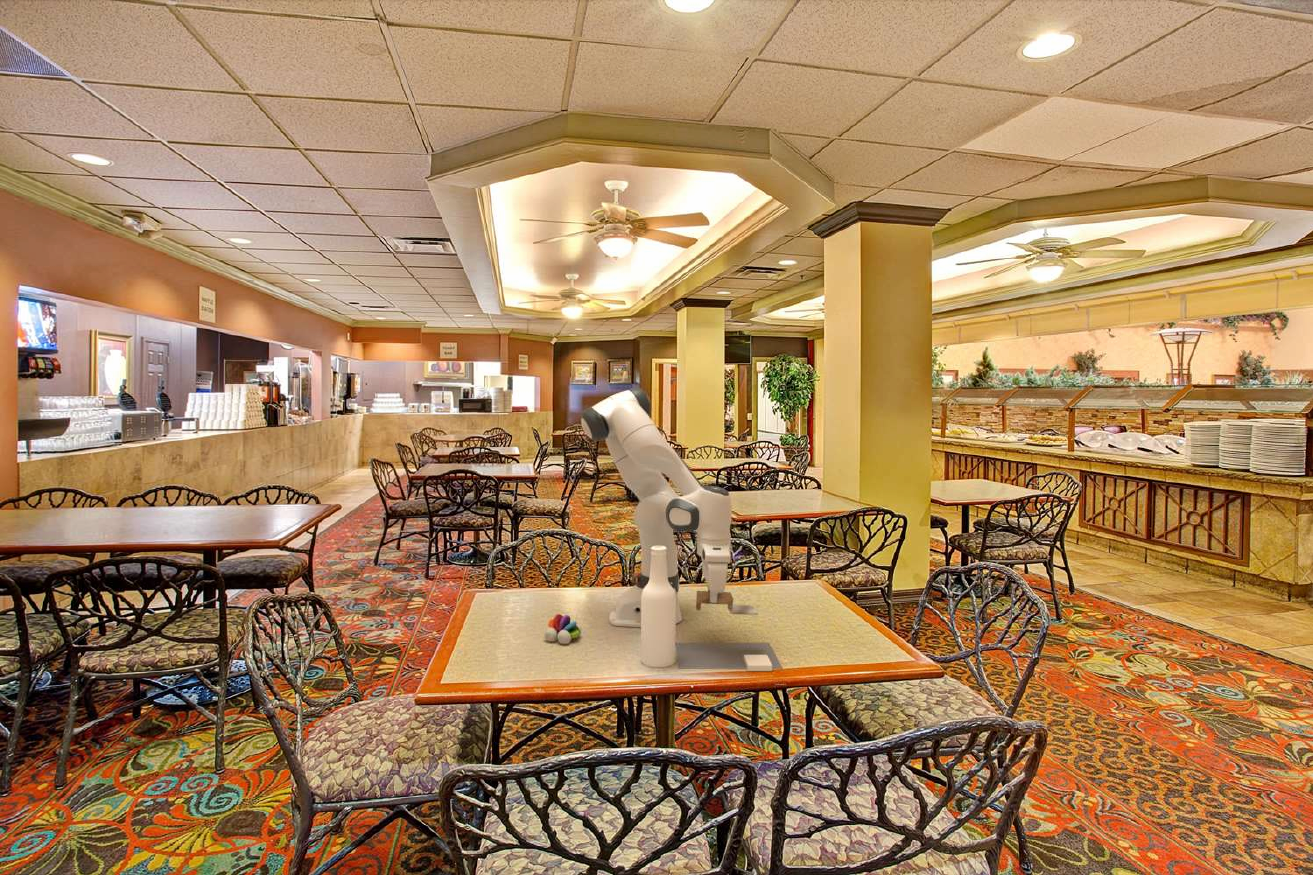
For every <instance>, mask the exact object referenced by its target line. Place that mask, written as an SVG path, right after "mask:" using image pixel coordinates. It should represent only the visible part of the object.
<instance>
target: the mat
mask: <svg viewBox="0 0 1313 875" xmlns="http://www.w3.org/2000/svg"><path fill="white" fill-rule="evenodd" d="M675 654H676V658H677V659H676V661H677V667H678V670H691V669H692V670H747V668H746V665H745V662H744V655H767V656H768V658H769V660H770V662H771V664H772V670H783V666H782V664H781V663H780V661H779V659H778V657H777V655H776V653H775V651H774V650H773V647H772V646H771V643H770V642H675Z"/></svg>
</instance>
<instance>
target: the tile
mask: <svg viewBox="0 0 1313 875" xmlns="http://www.w3.org/2000/svg"><path fill="white" fill-rule="evenodd" d="M744 662H745V665H746V668H747V669H746V670H747V671H748V672H772V671H773V669H772V664H771V662H770V660H769V658H768V656H767V655H744Z"/></svg>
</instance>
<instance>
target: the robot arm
mask: <svg viewBox="0 0 1313 875" xmlns="http://www.w3.org/2000/svg"><path fill="white" fill-rule="evenodd" d="M652 410H653V408H652V403H651V399H650V396H648V393H646V391H645V390H643V389H642V388H640V387H639V386H637V387H630V388H627V389H626V390H624V391H620V392H617V393H614V394H613V395H610V396H608V397H607V398H605V399H603V400H601V401H599V402H598V403H596V404H594V405H593V406H590V407H587V408H586V409H585V410H583V412H582V413H581V415H580V422H581V427H582V431H583V432H584V434H585V435H586V436H587V437H588V438H589V439H590V440H592V441H595V442H599V441H604V440H605V443H606V447H607V449H608V452H609V455H610V457H611V458H612V462H613V463H614V465H615V467H616V468H617V471H618V473H619V474H620V476H621V479H622V480H623V482H624V484H625V487H627V488H628V489H629V490H631V492H632V493H633V494H634V495H635V496H636V497H637V499H638V500H639V503H638V504H637V506H636V507H635V509H634V512H633V522H634V524H635V525H636V527H637V530H638V535H639V541H640V548H641V572H639V571H635V572H634V573H633V578H634V585H633V586H632V587H630V589H628V590H626V591H625V592H624V593H622V594H621V595H620V596H619V597H618V601H617V603H616V608H615V609H614V610H612V611H611V612H610V613H609V618H608V621H609V623H610V624H611V625H612V626H615V627H629V628H641V595H642V591H643V589H644V588H645V586H646V585H647V584H648V582H649V578H650V567H651V555H652V554H651V552H652V550H651V548H652V547H653V546H665V547H666V548H667V549H666V552H667V554H666V561H667V576H668V582H669V584H670V585H671V586H672V588H673V589H674V592H675V596H676V624H679V623H680V622H681V621H682V620H683V617H682V613H681V608H680V602H679V590H680V576H679V573H678V547H677V544H676V540H675V537H674V531H675V532H677V533H687V532H688V533H689V532H696V534H697V538H696V539H697V540H696V554H697V555H698V556H699V557H701V561H702V564H701V567H702V568H701V570H702V575H703V577H704V579H705V582H706V586H707V591H710V602H711V603H716V602H717V595H718V593H723V592H725V590H726V585H727V577H728V576H727V575H728V567H729V566H728V563H730V562H731V552H732V551H731V549H732V548H731V545H732V535H731V534H732V533H731V524H732V516H733V515H732V514H733V513H732V512H733V511H732V498H731V495H730V492H729V491H728V490H726V489H725V488H723V487H720V486H715V485H703V484H702V483H701V481H700V480H699V479H698V478H697V476H696V475H695V474H694V473H693V471H692V470H691V468H690V467H689V466H688V464H687V463H686V461H684V459H683V458H682V456H680V454H678V453H677V451H676V450H675V449H674V448H673V447H672V446H671V444H670V443H668V442H667V440H666V438H664V436H663V434H661V431H659V429H658V428H657V426H656V424H655V423H654V421H653V419H651V417H650V416H651V412H652ZM662 474H664V475H665V476H666V477H667V478H668V479H670V481H671V482H672V483H673V485H674V486H675V488H676V489H677V490H678V491H679V493H680V494H681V495H679V494H677V493H676V491H675V490H674V489H673V488H672V486H671V485H670V483H669V482H668V480H666V478H665V476H663V475H662Z"/></svg>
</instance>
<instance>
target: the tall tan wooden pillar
mask: <svg viewBox="0 0 1313 875" xmlns="http://www.w3.org/2000/svg"><path fill="white" fill-rule="evenodd" d="M695 597H696V599H695V600H696V601H695V609H696V611H701V607H702V606H701V605H702V604H704V605H705V604H707V605H708V604H710V605H727V610H728V611H729V613H730V614H731V615H746V616H749V615H750V616H758V614H759V613H758V611H757V609H756V608H755V605H749V604H747V605H746V604H745V605H744V604H734V597H733V595H732V592H730V591H724V592H723V593H718V595H717V602H716V603H711V602H710V591H708V590H696V596H695Z"/></svg>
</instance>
